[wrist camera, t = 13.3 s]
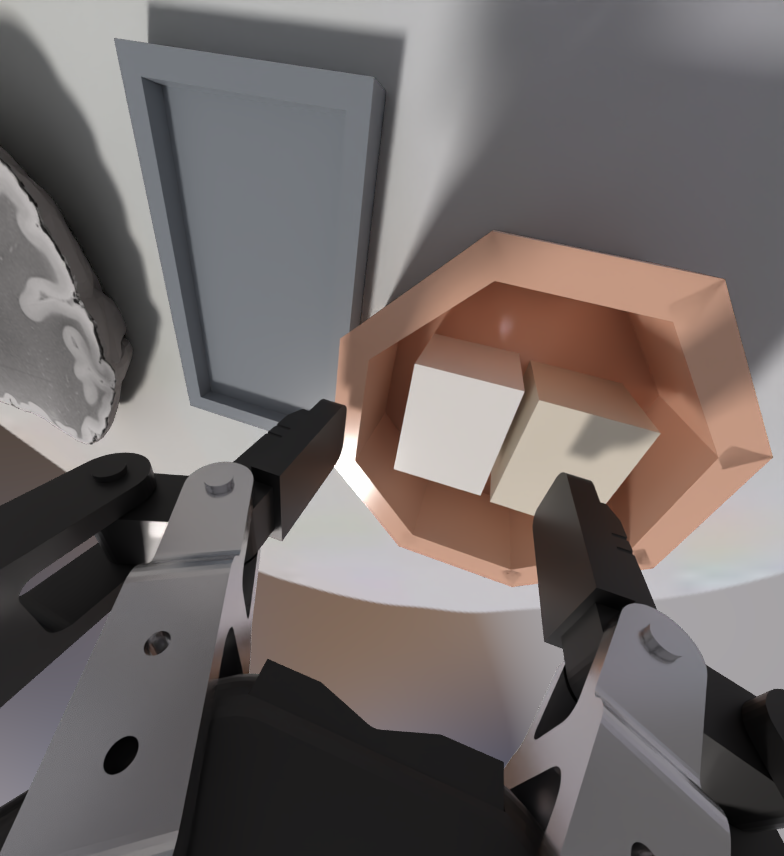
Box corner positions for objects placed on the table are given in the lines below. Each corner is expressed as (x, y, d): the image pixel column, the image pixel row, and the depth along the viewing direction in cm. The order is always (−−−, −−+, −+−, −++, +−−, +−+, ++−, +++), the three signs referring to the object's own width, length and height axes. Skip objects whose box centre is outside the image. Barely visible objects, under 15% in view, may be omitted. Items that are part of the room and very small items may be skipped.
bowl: (398, 209, 12) (350, 201, 8) (764, 285, 10) (921, 320, 6) (360, 460, 18) (325, 519, 15) (577, 531, 17) (599, 618, 13)
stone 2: (530, 359, 13) (539, 399, 10) (621, 383, 12) (660, 433, 9) (491, 448, 15) (490, 501, 12) (567, 470, 15) (584, 532, 12)
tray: (146, 54, 12) (113, 37, 11) (385, 91, 10) (374, 77, 9) (206, 396, 19) (190, 405, 18) (346, 441, 18) (337, 453, 17)
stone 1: (434, 333, 13) (414, 363, 10) (518, 353, 13) (524, 391, 10) (414, 423, 16) (393, 468, 13) (484, 443, 15) (480, 495, 12)
